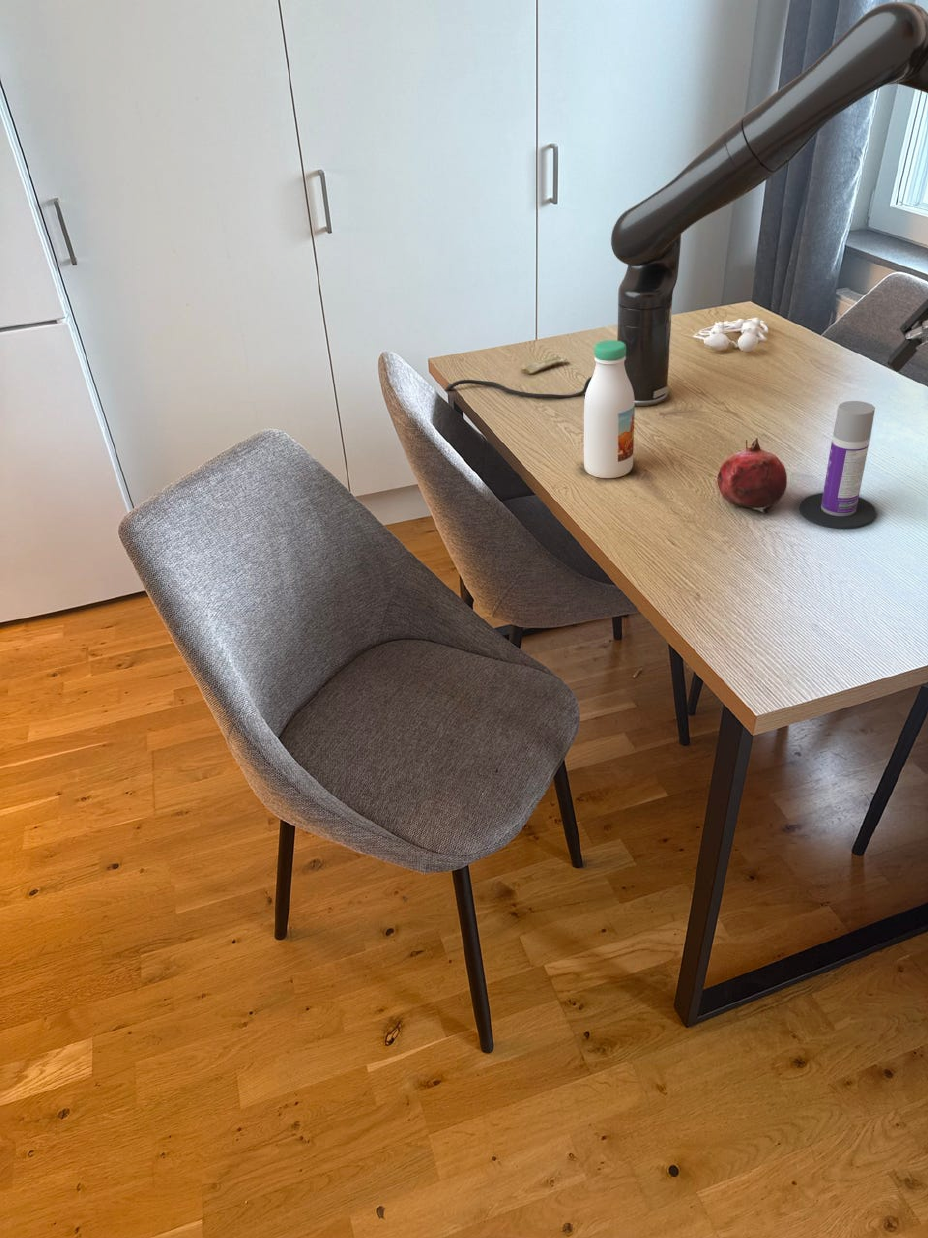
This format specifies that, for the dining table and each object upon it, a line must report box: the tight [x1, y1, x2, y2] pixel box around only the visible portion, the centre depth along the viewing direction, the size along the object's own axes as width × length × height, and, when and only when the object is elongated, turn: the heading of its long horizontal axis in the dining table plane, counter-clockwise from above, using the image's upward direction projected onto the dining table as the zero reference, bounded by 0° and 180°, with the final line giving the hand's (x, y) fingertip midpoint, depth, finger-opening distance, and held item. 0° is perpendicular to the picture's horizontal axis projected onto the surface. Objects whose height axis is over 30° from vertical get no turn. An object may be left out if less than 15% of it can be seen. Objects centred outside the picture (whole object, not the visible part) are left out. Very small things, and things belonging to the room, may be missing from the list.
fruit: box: [716, 437, 788, 514], centre depth 129 cm, size 9×10×10 cm
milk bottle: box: [583, 339, 636, 479], centre depth 138 cm, size 8×8×20 cm
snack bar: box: [521, 355, 568, 374], centre depth 183 cm, size 10×2×3 cm
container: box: [821, 400, 876, 516], centre depth 123 cm, size 5×5×15 cm
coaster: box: [799, 492, 877, 530], centre depth 128 cm, size 10×10×1 cm
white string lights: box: [693, 317, 769, 353], centre depth 187 cm, size 19×14×4 cm
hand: (913, 377), depth 119 cm, fingers open, 8 cm apart
